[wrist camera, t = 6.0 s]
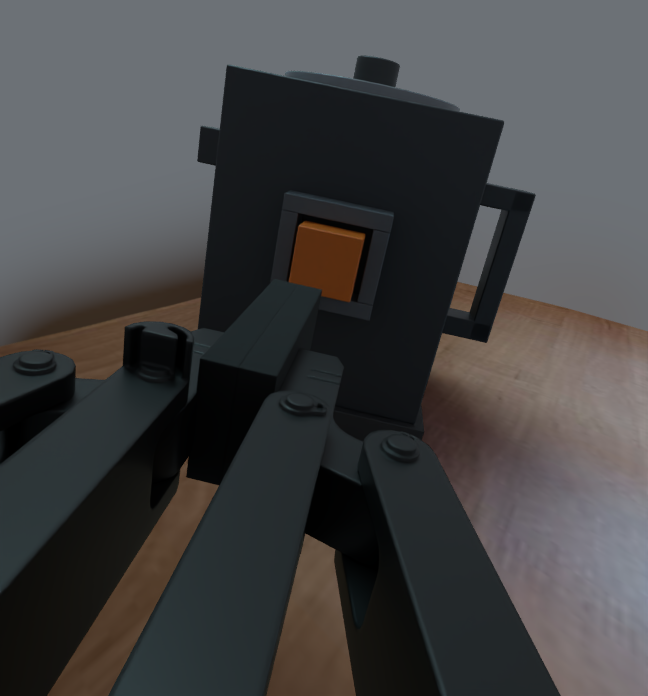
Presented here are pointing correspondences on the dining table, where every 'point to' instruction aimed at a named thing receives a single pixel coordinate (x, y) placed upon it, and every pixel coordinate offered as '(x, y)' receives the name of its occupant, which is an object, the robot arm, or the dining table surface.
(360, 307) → the kettle
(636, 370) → the dining table surface
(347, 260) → the kettle switch
